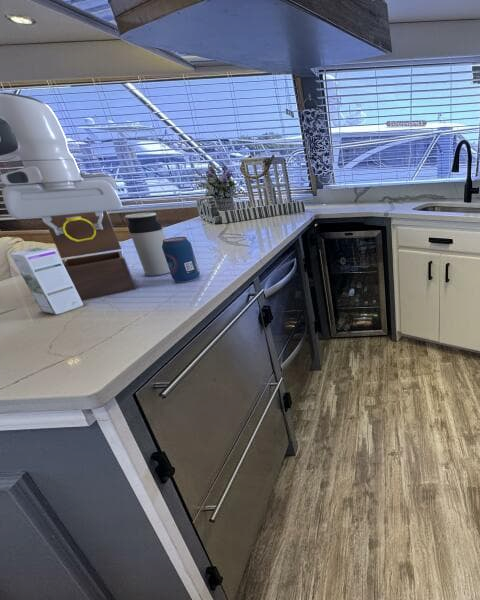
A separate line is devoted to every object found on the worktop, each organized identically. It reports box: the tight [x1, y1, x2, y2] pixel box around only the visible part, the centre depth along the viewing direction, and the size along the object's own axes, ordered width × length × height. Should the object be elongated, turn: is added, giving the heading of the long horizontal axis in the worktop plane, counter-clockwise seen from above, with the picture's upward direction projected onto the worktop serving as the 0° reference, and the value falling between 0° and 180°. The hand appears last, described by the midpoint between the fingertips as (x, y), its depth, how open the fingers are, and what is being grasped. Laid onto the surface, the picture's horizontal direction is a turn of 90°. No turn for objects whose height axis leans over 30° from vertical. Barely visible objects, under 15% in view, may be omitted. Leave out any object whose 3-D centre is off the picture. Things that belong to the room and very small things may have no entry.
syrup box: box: [9, 247, 84, 315], centre depth 74 cm, size 6×6×14 cm
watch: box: [62, 216, 96, 242], centre depth 81 cm, size 6×3×6 cm, turn 132°
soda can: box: [162, 236, 201, 284], centre depth 92 cm, size 7×7×12 cm
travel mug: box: [124, 212, 171, 277], centre depth 98 cm, size 8×8×18 cm
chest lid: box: [45, 211, 122, 259], centre depth 87 cm, size 12×13×1 cm
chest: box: [61, 250, 136, 301], centre depth 87 cm, size 12×13×9 cm
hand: (80, 232), depth 82 cm, fingers closed on watch, 6 cm apart
